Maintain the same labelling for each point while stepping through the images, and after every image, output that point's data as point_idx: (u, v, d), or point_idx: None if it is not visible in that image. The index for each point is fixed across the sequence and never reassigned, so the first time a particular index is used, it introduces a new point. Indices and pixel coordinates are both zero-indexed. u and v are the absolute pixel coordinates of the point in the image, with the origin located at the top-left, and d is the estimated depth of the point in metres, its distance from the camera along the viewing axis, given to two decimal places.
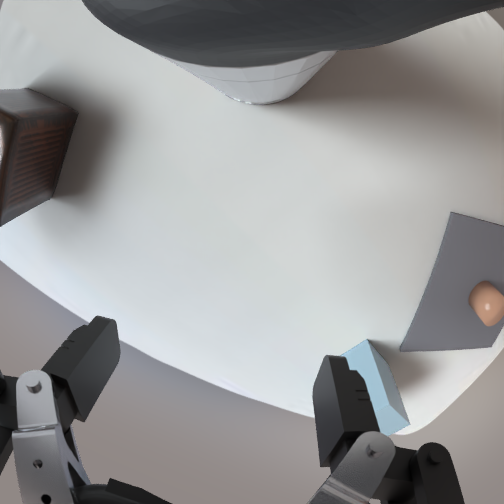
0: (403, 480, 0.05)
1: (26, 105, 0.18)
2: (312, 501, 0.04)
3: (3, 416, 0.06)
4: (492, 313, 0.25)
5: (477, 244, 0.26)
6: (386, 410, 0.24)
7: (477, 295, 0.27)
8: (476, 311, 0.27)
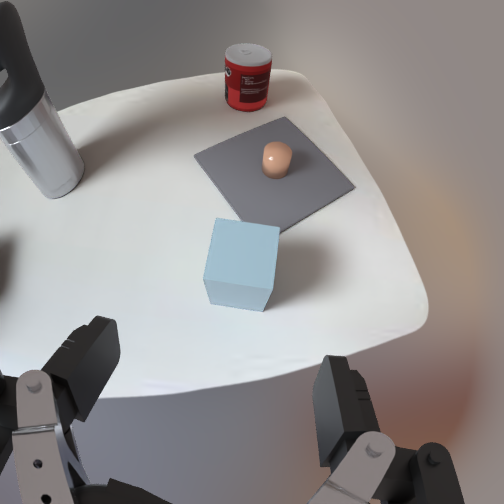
0: (403, 480, 0.05)
1: None
2: (312, 501, 0.04)
3: (3, 416, 0.06)
4: (275, 154, 0.40)
5: (230, 152, 0.45)
6: (222, 224, 0.29)
7: (263, 165, 0.43)
8: (272, 169, 0.42)
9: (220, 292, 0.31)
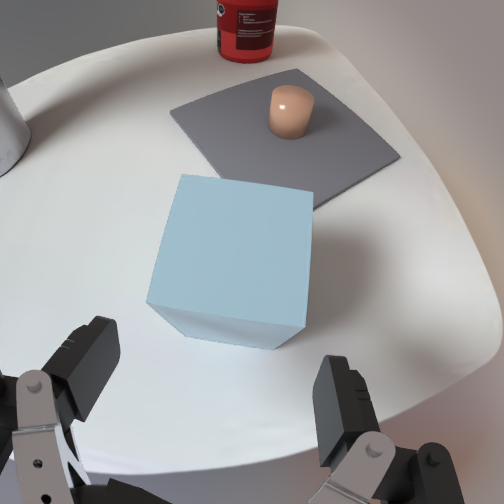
0: (403, 480, 0.05)
1: None
2: (312, 501, 0.04)
3: (3, 416, 0.06)
4: (289, 98, 0.25)
5: (221, 106, 0.30)
6: (194, 186, 0.14)
7: (270, 118, 0.27)
8: (284, 122, 0.26)
9: (193, 325, 0.15)
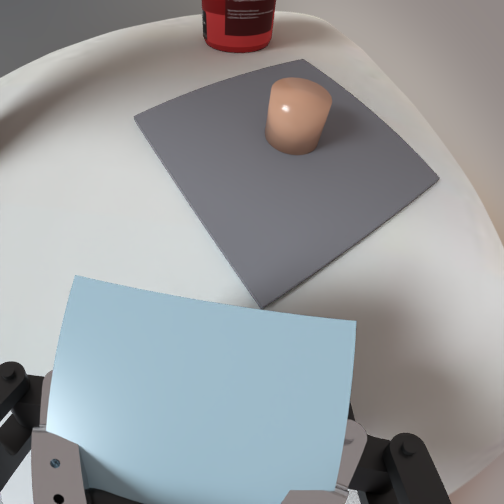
0: (375, 470, 0.06)
1: None
2: (289, 493, 0.04)
3: (24, 417, 0.06)
4: (295, 96, 0.17)
5: (202, 108, 0.22)
6: (95, 307, 0.06)
7: (267, 124, 0.19)
8: (287, 131, 0.18)
9: None
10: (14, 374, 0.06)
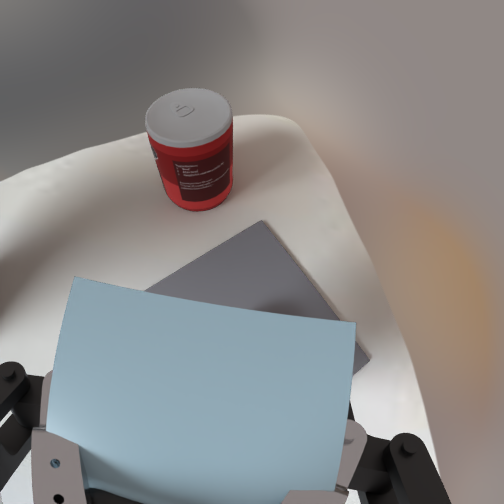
0: (375, 470, 0.06)
1: None
2: (289, 493, 0.04)
3: (24, 417, 0.06)
4: None
5: None
6: (95, 309, 0.06)
7: None
8: None
9: None
10: (14, 374, 0.06)
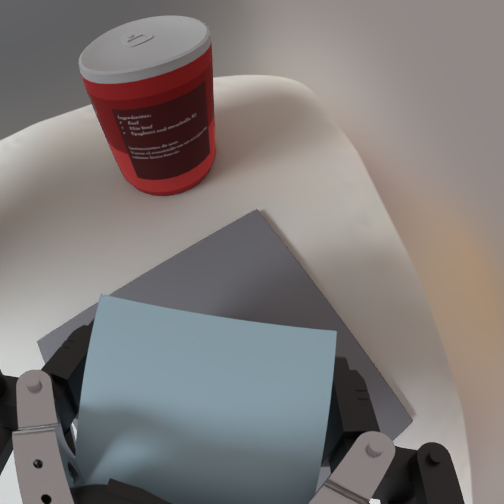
0: (403, 480, 0.05)
1: None
2: (312, 501, 0.04)
3: (3, 416, 0.06)
4: None
5: None
6: (120, 322, 0.07)
7: None
8: None
9: None
10: None
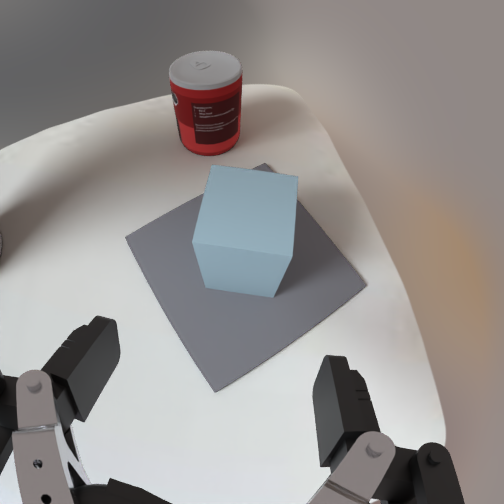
0: (403, 480, 0.05)
1: None
2: (312, 501, 0.04)
3: (3, 416, 0.06)
4: None
5: (176, 233, 0.30)
6: (220, 172, 0.21)
7: None
8: None
9: (217, 266, 0.22)
10: None
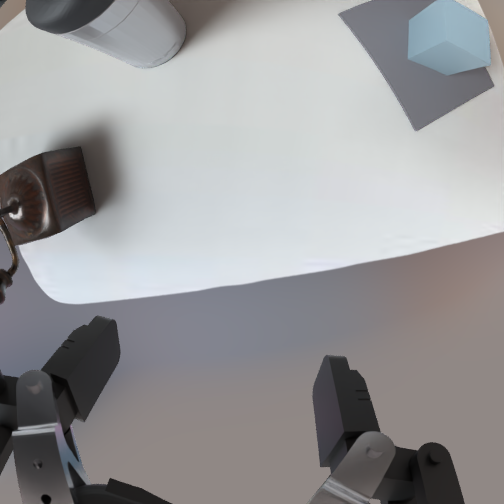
0: (403, 480, 0.05)
1: None
2: (312, 501, 0.04)
3: (3, 416, 0.06)
4: None
5: (380, 17, 0.26)
6: (450, 2, 0.17)
7: None
8: None
9: (440, 53, 0.22)
10: None
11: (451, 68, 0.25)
